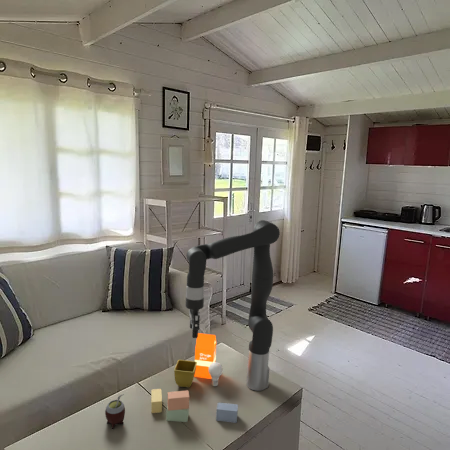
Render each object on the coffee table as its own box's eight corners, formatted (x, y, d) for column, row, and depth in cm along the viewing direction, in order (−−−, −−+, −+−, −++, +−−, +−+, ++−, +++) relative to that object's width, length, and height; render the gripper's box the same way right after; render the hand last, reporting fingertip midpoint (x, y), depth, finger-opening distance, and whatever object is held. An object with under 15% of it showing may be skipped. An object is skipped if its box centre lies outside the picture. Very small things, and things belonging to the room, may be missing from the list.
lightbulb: (211, 391, 154) (212, 368, 153) (205, 383, 160) (206, 360, 158) (224, 387, 157) (225, 365, 156) (217, 380, 163) (219, 358, 161)
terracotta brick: (187, 401, 139) (188, 390, 139) (189, 408, 136) (189, 396, 135) (167, 403, 138) (167, 392, 137) (167, 410, 134) (168, 398, 133)
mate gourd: (109, 416, 136) (109, 380, 134) (129, 417, 136) (129, 382, 134) (102, 430, 129) (101, 393, 127) (123, 431, 129) (123, 394, 126)
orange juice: (197, 367, 172) (199, 329, 169) (215, 369, 171) (217, 331, 168) (193, 376, 164) (195, 336, 161) (212, 379, 163) (214, 339, 160)
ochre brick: (151, 400, 147) (151, 389, 146) (161, 399, 148) (161, 388, 147) (151, 413, 139) (151, 402, 138) (161, 412, 140) (161, 401, 139)
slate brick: (237, 415, 140) (237, 404, 139) (236, 423, 136) (237, 411, 135) (217, 413, 141) (217, 402, 140) (216, 420, 137) (216, 409, 136)
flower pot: (196, 379, 163) (197, 361, 161) (192, 391, 154) (193, 372, 153) (177, 377, 163) (178, 359, 162) (173, 388, 155) (173, 370, 153)
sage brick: (188, 414, 139) (188, 403, 139) (187, 422, 135) (187, 410, 135) (168, 413, 140) (168, 402, 139) (166, 420, 136) (166, 409, 135)
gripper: (206, 302, 139) (205, 340, 142) (201, 289, 153) (200, 324, 155) (187, 302, 137) (186, 341, 140) (184, 290, 151) (183, 325, 154)
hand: (193, 332), depth 148 cm, fingers open, 8 cm apart
